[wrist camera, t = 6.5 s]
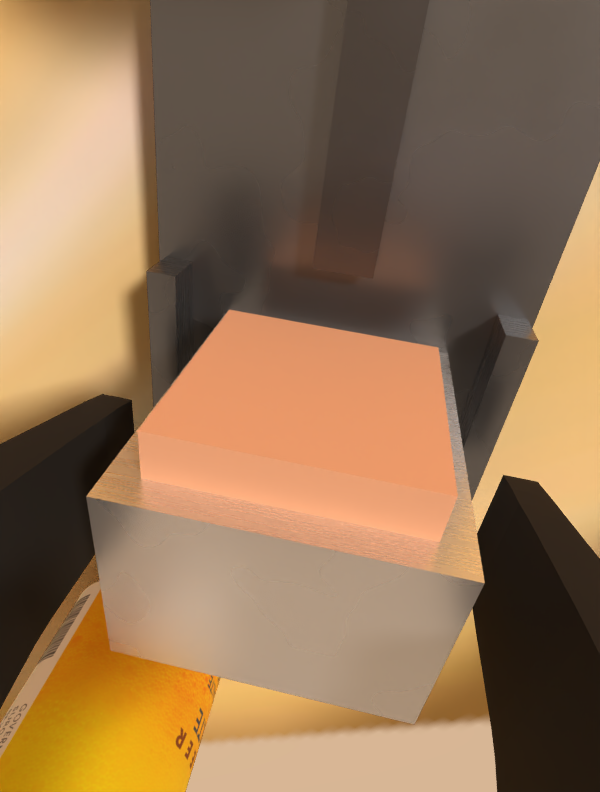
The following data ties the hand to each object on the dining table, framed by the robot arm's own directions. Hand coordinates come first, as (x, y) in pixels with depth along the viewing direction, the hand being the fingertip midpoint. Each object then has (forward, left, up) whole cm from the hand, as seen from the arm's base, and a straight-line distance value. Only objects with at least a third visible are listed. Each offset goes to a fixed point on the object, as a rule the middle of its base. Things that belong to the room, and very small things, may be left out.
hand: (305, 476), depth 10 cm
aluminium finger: (0, 0, -3) cm, 3 cm away
